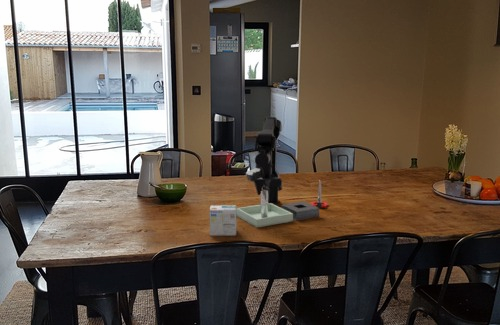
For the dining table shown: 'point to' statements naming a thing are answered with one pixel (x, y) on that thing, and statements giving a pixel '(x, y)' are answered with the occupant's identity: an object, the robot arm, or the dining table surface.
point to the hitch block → (301, 210)
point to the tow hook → (319, 200)
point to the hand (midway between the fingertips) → (264, 197)
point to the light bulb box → (223, 220)
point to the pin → (264, 204)
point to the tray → (274, 217)
